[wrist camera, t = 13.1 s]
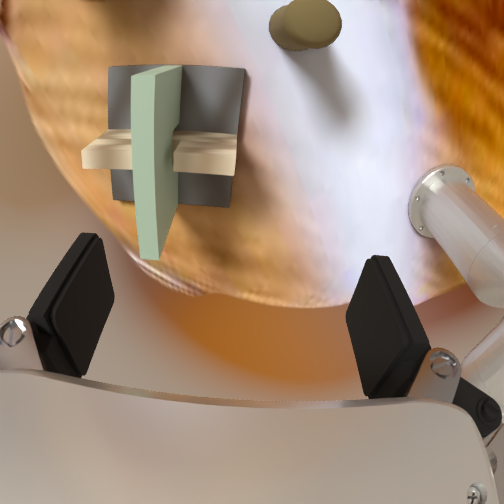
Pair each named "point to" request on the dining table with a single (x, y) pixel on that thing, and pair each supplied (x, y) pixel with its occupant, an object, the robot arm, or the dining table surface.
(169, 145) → the green slotted plate
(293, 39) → the cork
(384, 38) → the dining table surface
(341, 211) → the dining table surface
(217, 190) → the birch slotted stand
